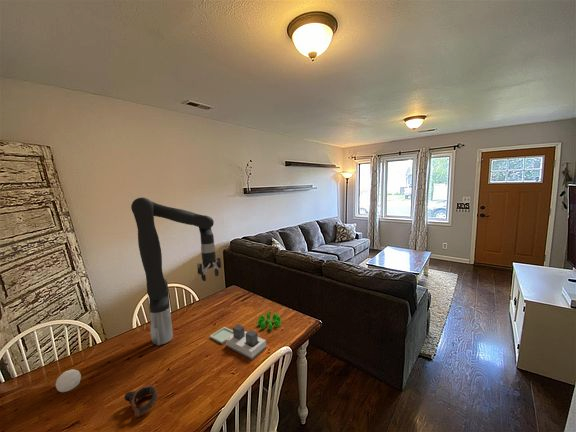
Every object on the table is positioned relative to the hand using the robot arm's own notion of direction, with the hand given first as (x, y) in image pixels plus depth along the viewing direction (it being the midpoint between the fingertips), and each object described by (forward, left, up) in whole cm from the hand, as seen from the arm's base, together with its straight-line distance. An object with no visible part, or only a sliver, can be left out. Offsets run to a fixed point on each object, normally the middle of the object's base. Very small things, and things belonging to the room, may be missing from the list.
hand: (210, 278), depth 140 cm
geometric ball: (-63, +12, -28) cm, 70 cm away
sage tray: (-5, -14, -28) cm, 32 cm away
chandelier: (+17, -28, -29) cm, 43 cm away
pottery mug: (-49, -21, -29) cm, 61 cm away
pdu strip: (-5, -31, -28) cm, 42 cm away
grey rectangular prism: (-5, -36, -27) cm, 45 cm away
